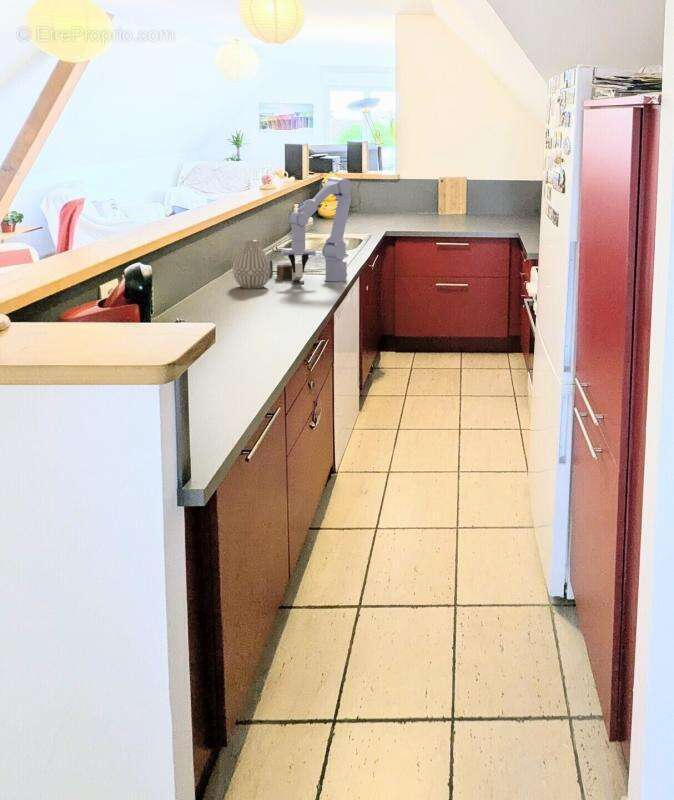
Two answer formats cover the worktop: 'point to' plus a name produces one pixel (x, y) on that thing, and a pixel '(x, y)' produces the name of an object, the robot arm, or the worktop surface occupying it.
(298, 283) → the mat
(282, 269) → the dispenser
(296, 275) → the cream flat block piece
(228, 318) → the worktop surface
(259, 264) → the vase
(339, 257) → the robot arm
